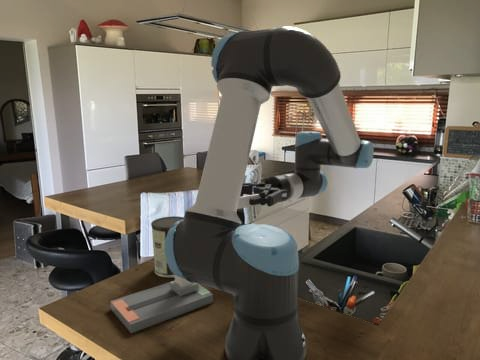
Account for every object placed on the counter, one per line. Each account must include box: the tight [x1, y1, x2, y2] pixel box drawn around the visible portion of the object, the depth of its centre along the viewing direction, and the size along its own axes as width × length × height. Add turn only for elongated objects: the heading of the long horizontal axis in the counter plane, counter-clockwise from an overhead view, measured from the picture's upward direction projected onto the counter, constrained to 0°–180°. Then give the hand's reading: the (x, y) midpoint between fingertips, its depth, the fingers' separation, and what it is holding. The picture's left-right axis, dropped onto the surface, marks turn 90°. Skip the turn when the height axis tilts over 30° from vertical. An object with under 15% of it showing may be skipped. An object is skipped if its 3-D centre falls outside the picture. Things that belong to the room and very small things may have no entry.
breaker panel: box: [109, 281, 214, 334], centre depth 90 cm, size 12×20×2 cm, turn 127°
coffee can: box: [150, 215, 184, 279], centre depth 108 cm, size 10×10×14 cm
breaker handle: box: [170, 275, 200, 296], centre depth 92 cm, size 5×5×12 cm
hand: (221, 198), depth 98 cm, fingers open, 13 cm apart
